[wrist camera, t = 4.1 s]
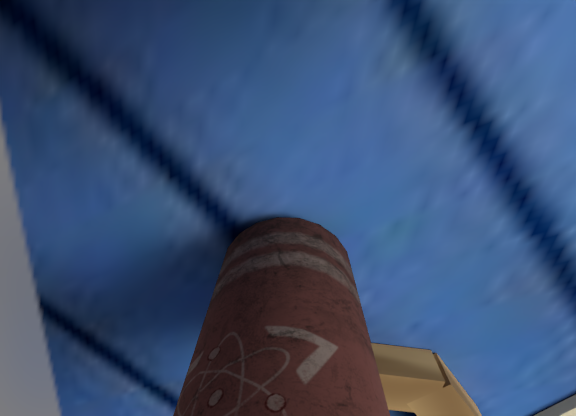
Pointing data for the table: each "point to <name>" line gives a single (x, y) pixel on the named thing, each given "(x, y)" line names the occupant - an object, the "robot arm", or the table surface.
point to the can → (284, 331)
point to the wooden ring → (420, 383)
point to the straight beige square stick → (561, 408)
